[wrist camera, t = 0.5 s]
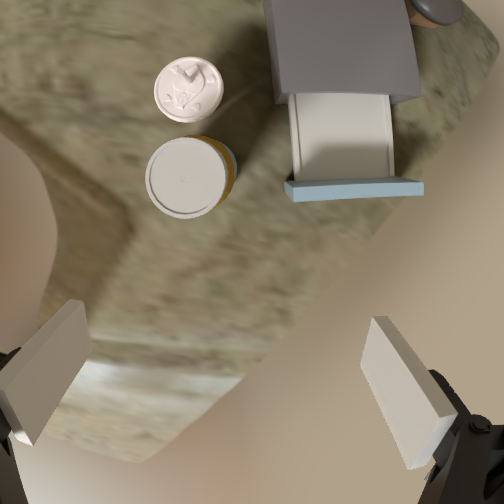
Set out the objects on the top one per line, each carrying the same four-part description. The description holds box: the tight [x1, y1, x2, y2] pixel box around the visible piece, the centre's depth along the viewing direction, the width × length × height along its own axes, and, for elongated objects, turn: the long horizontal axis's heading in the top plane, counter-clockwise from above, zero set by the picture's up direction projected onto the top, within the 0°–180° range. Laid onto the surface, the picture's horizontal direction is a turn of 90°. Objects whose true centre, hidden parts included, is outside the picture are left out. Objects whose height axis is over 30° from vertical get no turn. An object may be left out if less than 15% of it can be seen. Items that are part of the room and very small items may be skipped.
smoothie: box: [154, 57, 224, 123], centre depth 28 cm, size 6×6×14 cm
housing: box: [263, 0, 422, 105], centre depth 29 cm, size 18×15×8 cm
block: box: [404, 0, 440, 29], centre depth 28 cm, size 5×5×5 cm
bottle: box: [146, 135, 237, 219], centre depth 30 cm, size 7×7×15 cm
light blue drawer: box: [284, 93, 424, 202], centre depth 32 cm, size 18×14×7 cm
